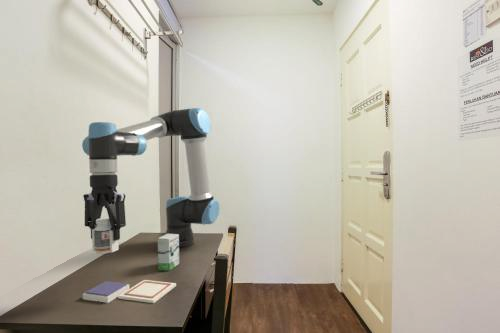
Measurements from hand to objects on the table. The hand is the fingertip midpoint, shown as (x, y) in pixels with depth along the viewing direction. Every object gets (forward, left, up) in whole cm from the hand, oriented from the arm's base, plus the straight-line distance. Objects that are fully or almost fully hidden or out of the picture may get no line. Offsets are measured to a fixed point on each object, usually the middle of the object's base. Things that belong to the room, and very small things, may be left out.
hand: (105, 250), depth 88 cm
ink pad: (0, 0, -13) cm, 13 cm away
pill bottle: (0, 0, -1) cm, 1 cm away
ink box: (-26, +6, -14) cm, 30 cm away
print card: (-5, +12, -13) cm, 18 cm away
